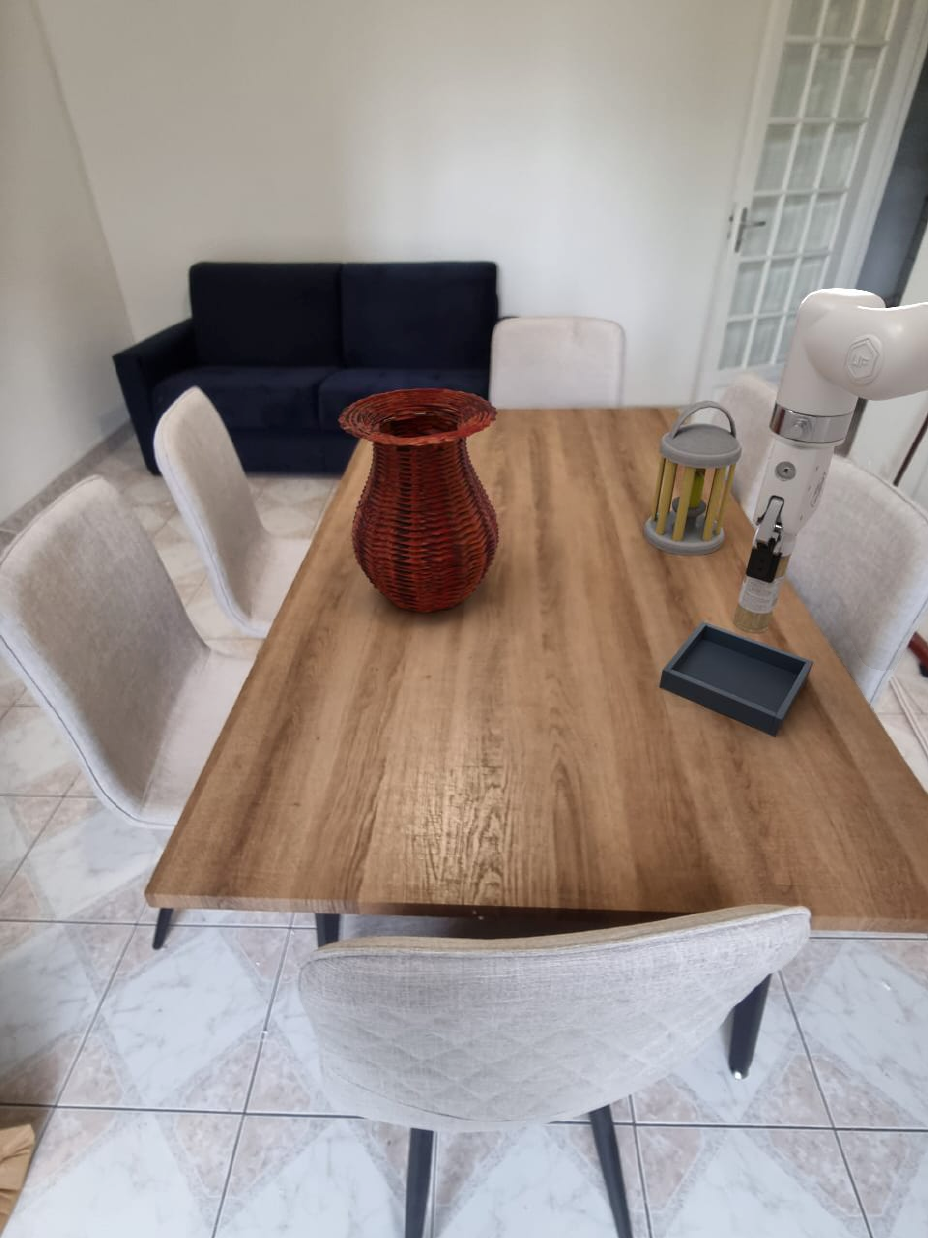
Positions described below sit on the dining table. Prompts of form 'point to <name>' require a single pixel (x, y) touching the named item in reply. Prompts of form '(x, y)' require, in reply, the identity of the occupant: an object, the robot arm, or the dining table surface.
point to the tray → (737, 677)
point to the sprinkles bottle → (762, 593)
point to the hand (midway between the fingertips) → (767, 567)
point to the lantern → (693, 485)
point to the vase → (422, 497)
